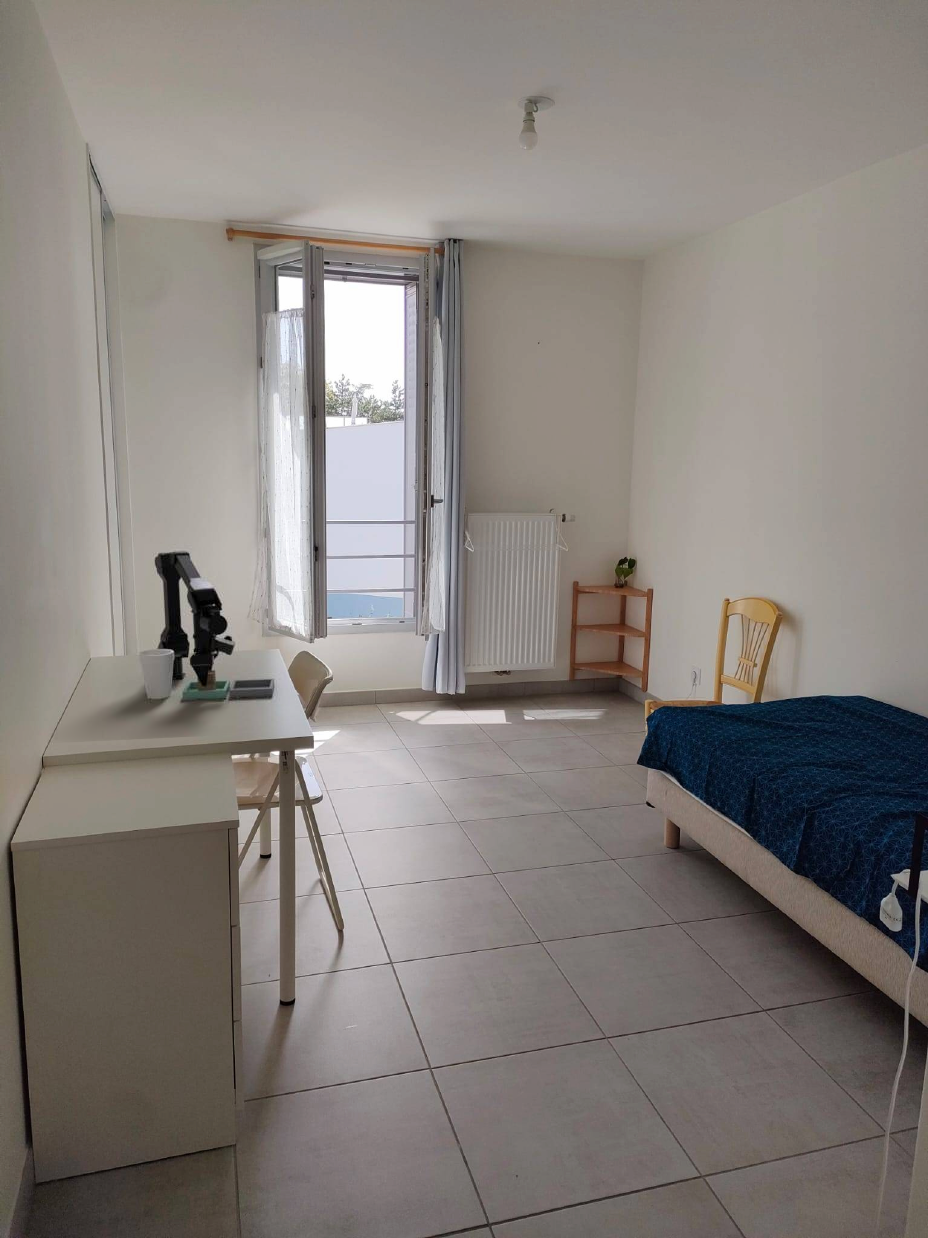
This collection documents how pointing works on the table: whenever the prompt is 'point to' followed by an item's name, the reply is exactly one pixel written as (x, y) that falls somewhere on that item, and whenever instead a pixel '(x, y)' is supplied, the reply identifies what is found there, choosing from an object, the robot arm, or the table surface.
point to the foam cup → (157, 672)
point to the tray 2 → (252, 688)
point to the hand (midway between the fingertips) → (206, 682)
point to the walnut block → (208, 682)
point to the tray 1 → (206, 691)
